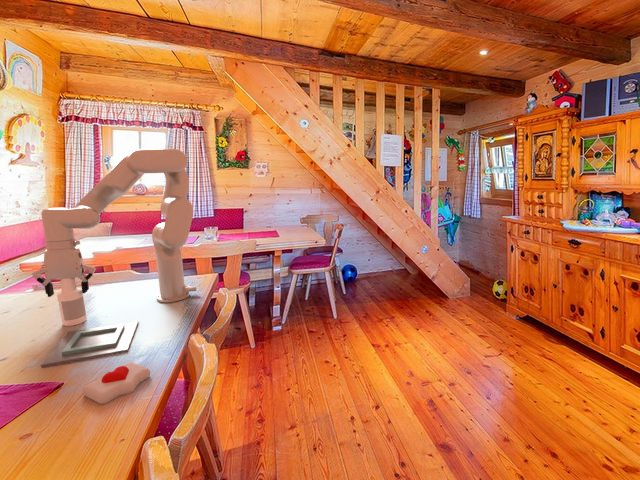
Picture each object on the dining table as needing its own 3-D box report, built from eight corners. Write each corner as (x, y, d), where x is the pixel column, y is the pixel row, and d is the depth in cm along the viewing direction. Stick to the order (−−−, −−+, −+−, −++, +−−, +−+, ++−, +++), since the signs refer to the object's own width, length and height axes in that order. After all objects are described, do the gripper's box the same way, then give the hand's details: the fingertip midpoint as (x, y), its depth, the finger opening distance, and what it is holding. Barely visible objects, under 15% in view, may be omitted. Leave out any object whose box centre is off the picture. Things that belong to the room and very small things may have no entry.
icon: (104, 393, 68) (78, 380, 73) (107, 410, 69) (81, 397, 73) (155, 363, 79) (130, 354, 83) (157, 379, 80) (132, 368, 84)
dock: (138, 323, 110) (137, 318, 110) (127, 351, 92) (126, 346, 91) (68, 334, 103) (67, 328, 103) (41, 367, 85) (40, 361, 84)
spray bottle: (73, 327, 108) (64, 276, 104) (57, 325, 109) (48, 275, 106) (91, 318, 114) (83, 270, 111) (76, 317, 116) (67, 269, 112)
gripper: (94, 241, 113) (100, 287, 116) (33, 244, 107) (41, 293, 110) (88, 245, 106) (95, 294, 109) (22, 249, 100) (31, 301, 103)
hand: (68, 293), depth 109 cm, fingers open, 9 cm apart
